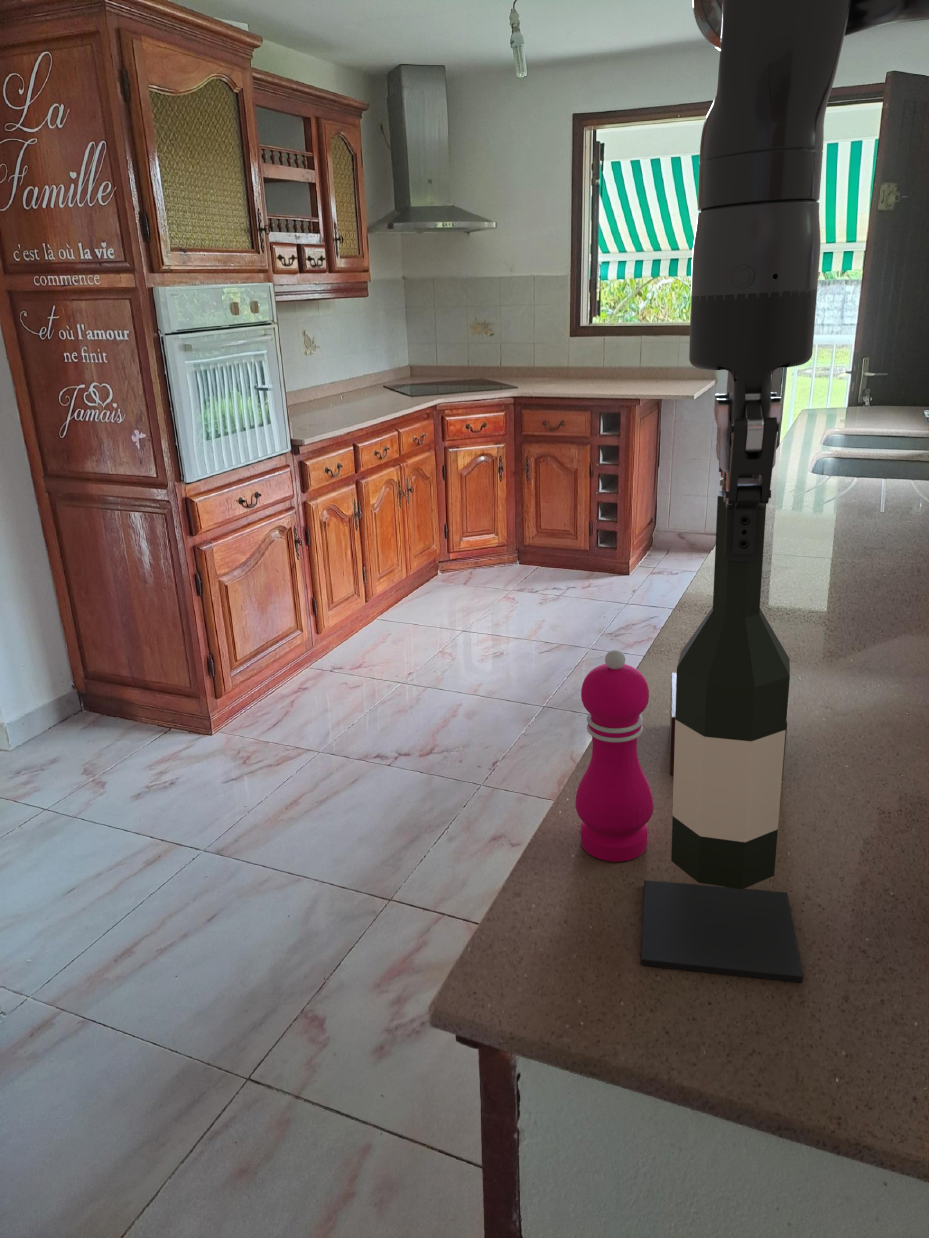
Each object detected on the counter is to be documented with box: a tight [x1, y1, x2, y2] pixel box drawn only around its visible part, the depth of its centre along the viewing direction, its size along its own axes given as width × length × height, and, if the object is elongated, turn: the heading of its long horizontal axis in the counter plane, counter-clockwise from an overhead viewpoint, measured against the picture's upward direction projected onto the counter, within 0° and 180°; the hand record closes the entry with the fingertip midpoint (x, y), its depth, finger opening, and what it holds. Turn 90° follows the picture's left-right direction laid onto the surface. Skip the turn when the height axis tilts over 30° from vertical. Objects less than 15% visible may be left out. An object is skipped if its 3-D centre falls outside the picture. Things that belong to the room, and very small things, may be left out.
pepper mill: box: [575, 649, 654, 863], centre depth 81 cm, size 7×7×20 cm
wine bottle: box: [670, 478, 791, 889], centre depth 64 cm, size 8×8×30 cm
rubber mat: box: [640, 879, 804, 983], centre depth 72 cm, size 12×10×1 cm
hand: (739, 551), depth 61 cm, fingers closed on wine bottle, 3 cm apart
